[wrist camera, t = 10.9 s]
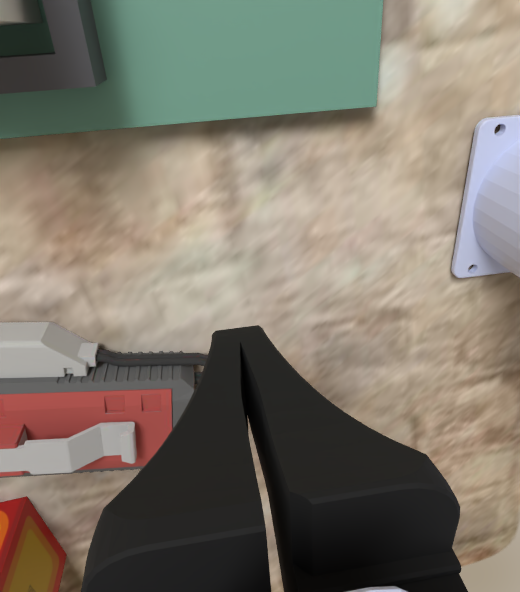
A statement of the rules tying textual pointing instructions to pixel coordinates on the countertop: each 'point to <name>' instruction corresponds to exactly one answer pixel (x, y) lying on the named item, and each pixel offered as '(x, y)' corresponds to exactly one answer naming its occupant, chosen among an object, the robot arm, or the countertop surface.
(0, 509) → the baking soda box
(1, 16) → the plug
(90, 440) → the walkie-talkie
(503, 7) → the countertop surface
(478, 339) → the countertop surface
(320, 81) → the board
